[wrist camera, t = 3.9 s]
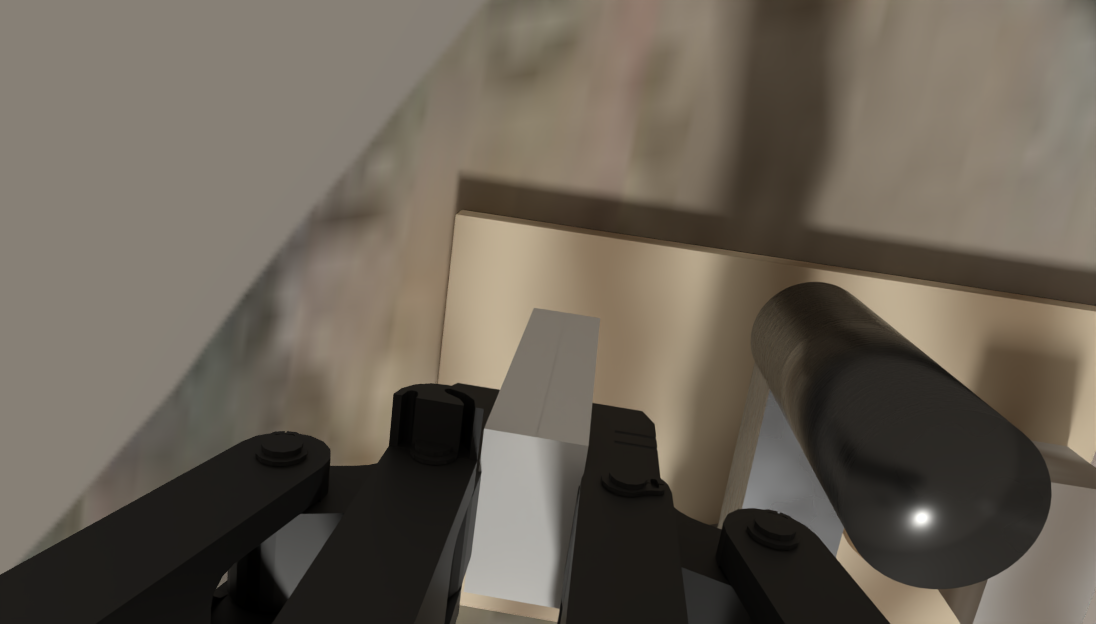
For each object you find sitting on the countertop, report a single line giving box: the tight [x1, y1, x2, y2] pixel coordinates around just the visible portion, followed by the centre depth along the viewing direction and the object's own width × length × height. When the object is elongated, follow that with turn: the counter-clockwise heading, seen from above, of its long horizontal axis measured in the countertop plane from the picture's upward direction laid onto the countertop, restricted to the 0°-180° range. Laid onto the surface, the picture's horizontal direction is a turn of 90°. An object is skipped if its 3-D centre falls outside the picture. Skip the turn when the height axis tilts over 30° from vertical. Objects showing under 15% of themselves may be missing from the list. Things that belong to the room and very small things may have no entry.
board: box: [438, 210, 1096, 624], centre depth 28 cm, size 24×16×5 cm, turn 82°
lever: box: [717, 282, 1052, 589], centre depth 22 cm, size 4×15×14 cm, turn 172°
